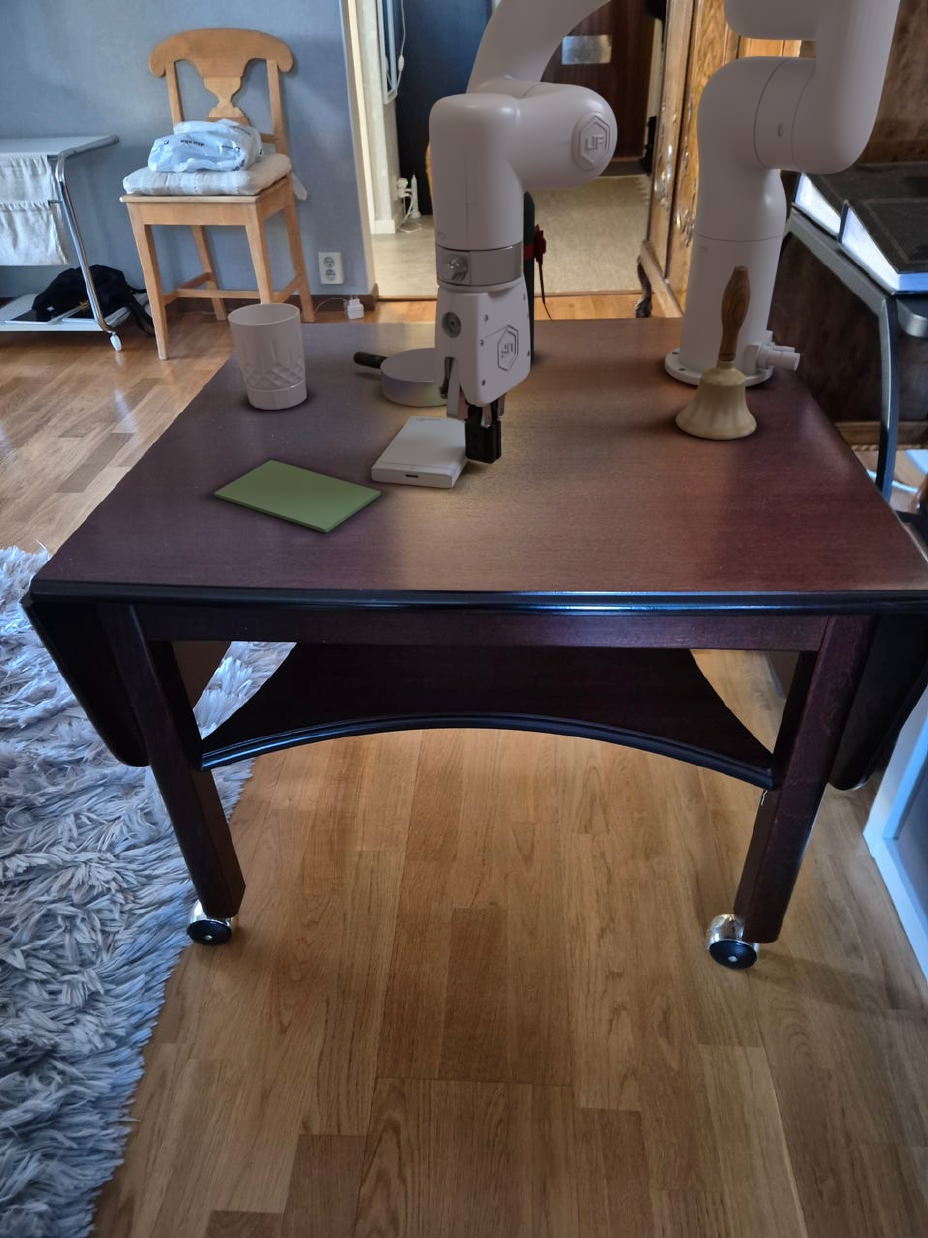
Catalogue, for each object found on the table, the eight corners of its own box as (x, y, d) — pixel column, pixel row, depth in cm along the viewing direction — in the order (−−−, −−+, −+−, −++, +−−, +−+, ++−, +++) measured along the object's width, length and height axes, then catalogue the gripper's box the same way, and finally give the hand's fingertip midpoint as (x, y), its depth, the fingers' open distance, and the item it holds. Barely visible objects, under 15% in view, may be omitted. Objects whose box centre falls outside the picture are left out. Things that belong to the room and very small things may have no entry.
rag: (381, 495, 80) (380, 491, 80) (326, 533, 75) (325, 529, 74) (271, 463, 86) (271, 459, 86) (214, 496, 81) (213, 492, 81)
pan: (492, 380, 102) (491, 356, 100) (441, 413, 95) (440, 387, 93) (383, 358, 109) (380, 335, 108) (328, 387, 102) (324, 363, 100)
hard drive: (410, 414, 91) (370, 465, 81) (483, 420, 89) (452, 473, 79) (411, 429, 92) (372, 481, 82) (484, 434, 90) (452, 489, 80)
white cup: (319, 386, 103) (307, 302, 97) (302, 412, 96) (288, 324, 90) (256, 386, 103) (240, 302, 97) (236, 412, 97) (217, 324, 91)
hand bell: (770, 421, 90) (800, 263, 80) (731, 447, 85) (758, 283, 76) (701, 402, 95) (722, 250, 85) (660, 426, 90) (678, 269, 80)
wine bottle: (557, 367, 105) (567, 81, 87) (476, 373, 104) (468, 86, 86) (545, 345, 111) (551, 75, 93) (469, 351, 110) (460, 80, 92)
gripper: (471, 291, 66) (476, 499, 77) (558, 247, 76) (552, 437, 87) (393, 279, 69) (409, 481, 80) (486, 239, 79) (489, 423, 90)
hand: (483, 457), depth 83 cm, fingers closed
